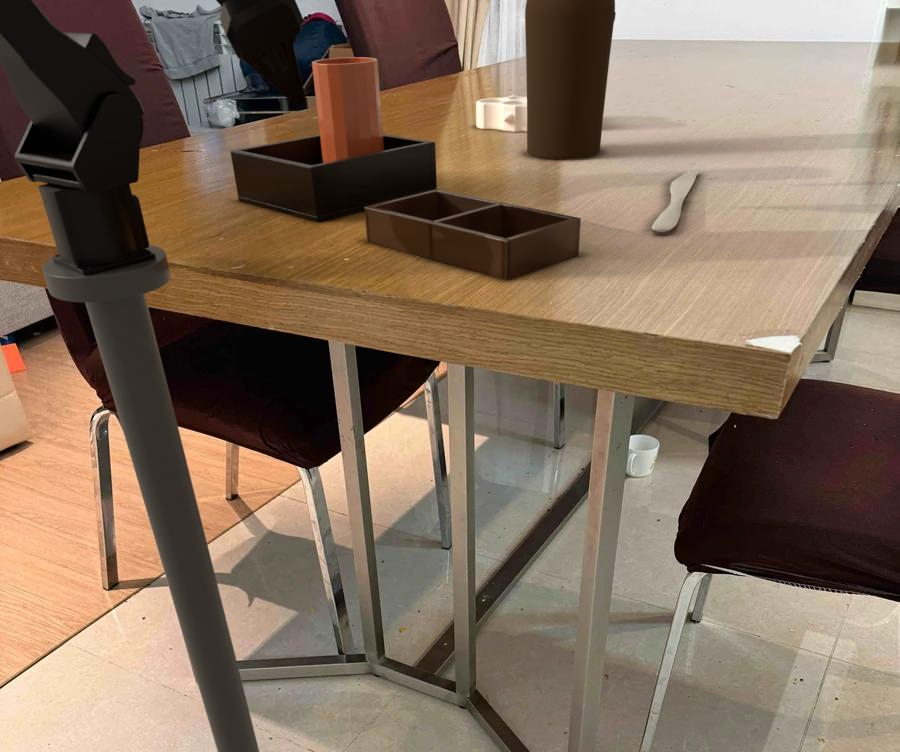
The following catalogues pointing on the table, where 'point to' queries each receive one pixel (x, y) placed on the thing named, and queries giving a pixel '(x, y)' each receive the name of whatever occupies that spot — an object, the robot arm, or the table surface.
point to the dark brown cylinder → (567, 75)
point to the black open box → (331, 176)
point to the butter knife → (675, 202)
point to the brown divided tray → (474, 232)
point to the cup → (348, 107)
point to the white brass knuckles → (502, 113)
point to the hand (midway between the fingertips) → (291, 82)
